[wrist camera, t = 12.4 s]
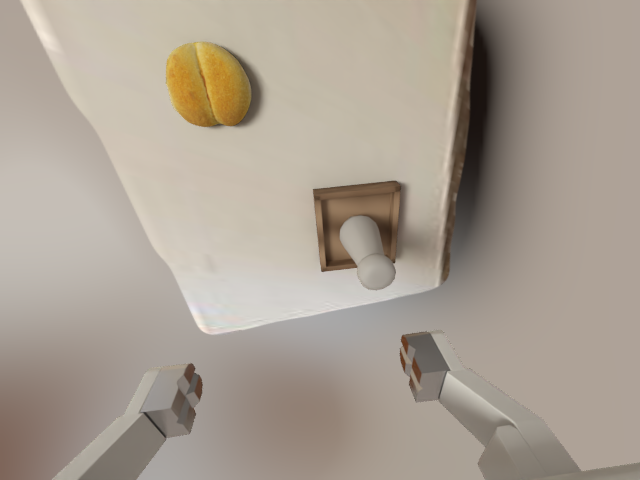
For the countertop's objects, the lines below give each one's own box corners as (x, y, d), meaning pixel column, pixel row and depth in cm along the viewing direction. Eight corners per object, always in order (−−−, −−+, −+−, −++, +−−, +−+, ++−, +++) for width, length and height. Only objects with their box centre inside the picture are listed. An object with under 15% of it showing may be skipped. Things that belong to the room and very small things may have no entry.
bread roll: (257, 123, 33) (252, 127, 30) (184, 126, 33) (171, 130, 29) (246, 42, 29) (239, 35, 25) (162, 44, 28) (144, 37, 25)
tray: (313, 189, 38) (314, 195, 36) (394, 180, 38) (400, 185, 36) (320, 263, 44) (321, 271, 42) (390, 255, 45) (394, 263, 42)
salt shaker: (379, 213, 40) (413, 262, 28) (367, 245, 42) (394, 301, 31) (342, 206, 38) (363, 253, 27) (332, 239, 41) (347, 295, 30)
